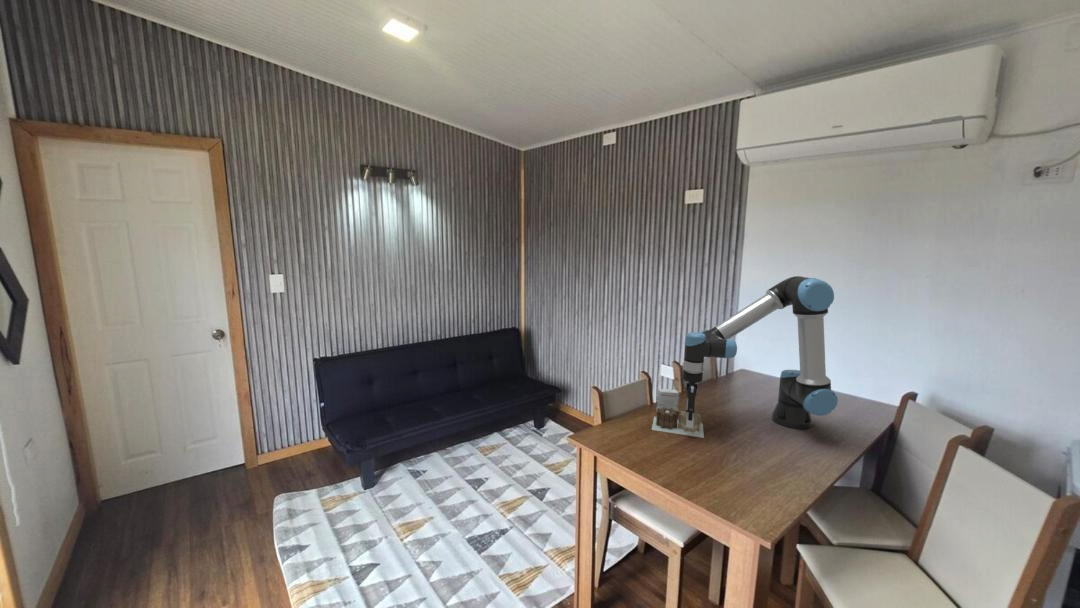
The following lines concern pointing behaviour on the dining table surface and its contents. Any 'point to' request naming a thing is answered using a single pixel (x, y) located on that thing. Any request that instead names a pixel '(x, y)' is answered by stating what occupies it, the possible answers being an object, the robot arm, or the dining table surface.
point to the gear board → (677, 430)
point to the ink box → (668, 399)
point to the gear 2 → (683, 422)
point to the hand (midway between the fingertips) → (689, 420)
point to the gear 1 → (667, 418)
